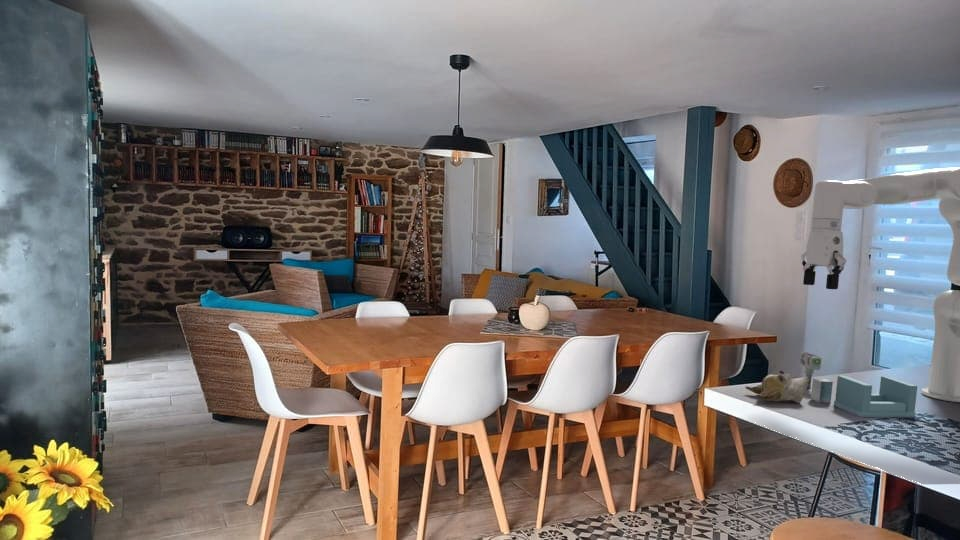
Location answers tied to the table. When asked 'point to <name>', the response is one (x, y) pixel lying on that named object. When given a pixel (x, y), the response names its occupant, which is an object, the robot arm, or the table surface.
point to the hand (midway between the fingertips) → (819, 286)
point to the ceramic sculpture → (781, 388)
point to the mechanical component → (810, 365)
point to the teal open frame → (876, 397)
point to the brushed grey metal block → (821, 390)
